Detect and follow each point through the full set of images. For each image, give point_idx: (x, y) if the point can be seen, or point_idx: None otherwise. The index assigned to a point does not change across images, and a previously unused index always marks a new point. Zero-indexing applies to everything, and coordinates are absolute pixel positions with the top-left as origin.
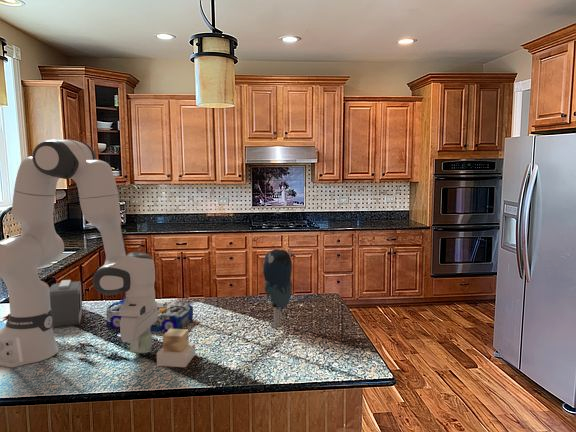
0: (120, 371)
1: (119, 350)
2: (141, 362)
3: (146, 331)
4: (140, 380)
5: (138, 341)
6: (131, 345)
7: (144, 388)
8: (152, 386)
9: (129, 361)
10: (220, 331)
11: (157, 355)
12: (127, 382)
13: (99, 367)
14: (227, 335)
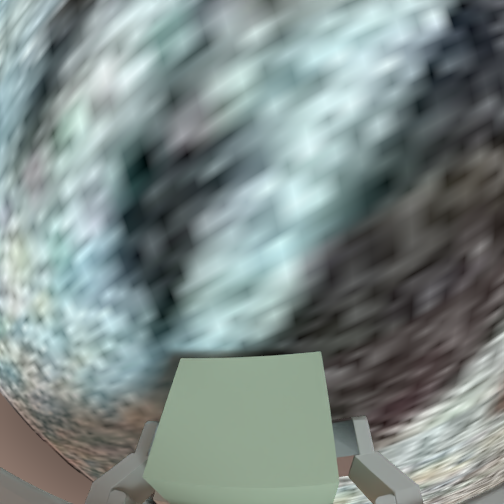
0: (45, 345)
1: (304, 162)
2: (162, 402)
3: (372, 491)
4: (56, 422)
5: (146, 493)
6: (169, 413)
7: (42, 432)
8: (60, 446)
9: (142, 346)
10: (491, 459)
11: (156, 491)
12: (24, 391)
13: (15, 212)
14: (454, 483)
